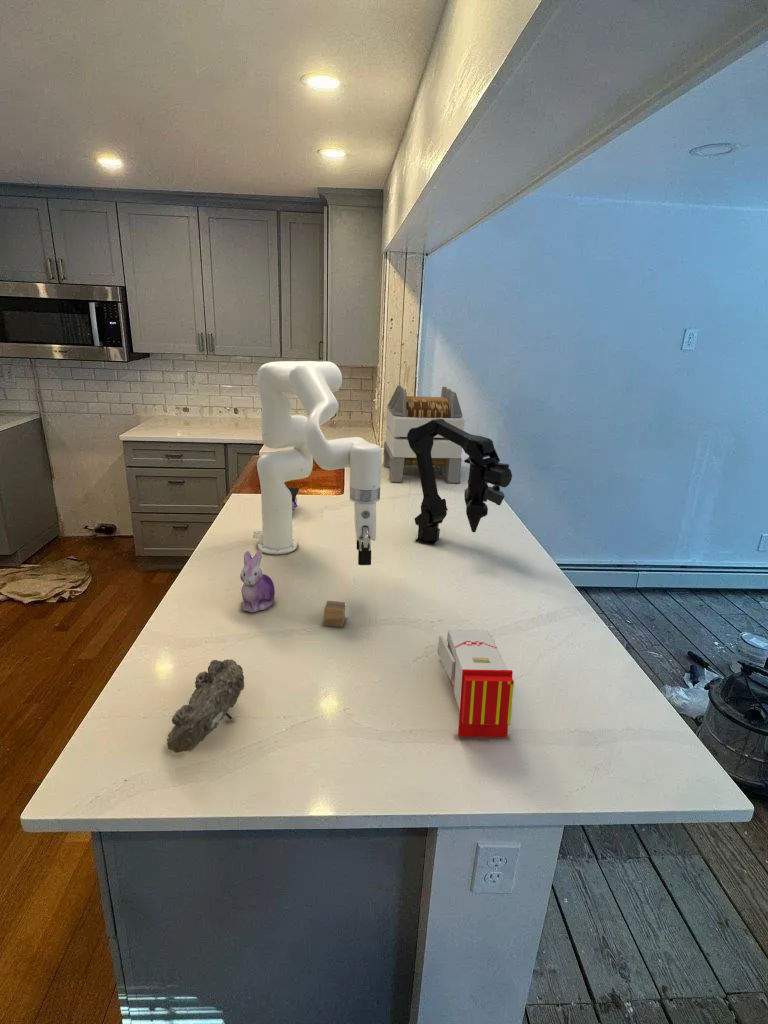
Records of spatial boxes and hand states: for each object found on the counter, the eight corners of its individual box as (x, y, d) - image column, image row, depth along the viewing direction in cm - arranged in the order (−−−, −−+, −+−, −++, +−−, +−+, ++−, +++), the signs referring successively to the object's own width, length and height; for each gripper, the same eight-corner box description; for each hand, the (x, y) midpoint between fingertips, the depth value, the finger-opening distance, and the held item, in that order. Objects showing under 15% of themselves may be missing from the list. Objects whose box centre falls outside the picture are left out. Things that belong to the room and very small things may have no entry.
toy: (488, 613, 130) (523, 677, 101) (484, 667, 133) (517, 744, 104) (435, 612, 130) (455, 676, 101) (432, 666, 133) (451, 743, 103)
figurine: (245, 617, 142) (242, 562, 137) (235, 598, 151) (232, 547, 146) (281, 609, 147) (280, 556, 142) (270, 592, 155) (268, 541, 150)
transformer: (382, 463, 289) (386, 382, 275) (445, 464, 293) (451, 384, 279) (390, 482, 257) (394, 392, 243) (460, 483, 261) (468, 394, 247)
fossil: (192, 660, 117) (244, 628, 112) (224, 691, 120) (276, 661, 115) (142, 746, 98) (202, 712, 93) (182, 779, 101) (242, 748, 96)
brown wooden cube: (342, 627, 140) (342, 610, 139) (324, 625, 141) (324, 608, 139) (345, 618, 144) (345, 602, 143) (327, 617, 145) (327, 600, 143)
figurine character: (295, 520, 211) (299, 503, 225) (294, 502, 208) (299, 485, 221) (277, 519, 211) (282, 502, 224) (276, 501, 208) (282, 485, 221)
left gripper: (382, 504, 133) (380, 571, 138) (377, 483, 149) (375, 544, 155) (350, 504, 132) (349, 571, 138) (348, 483, 148) (347, 544, 154)
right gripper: (507, 490, 164) (501, 539, 170) (501, 472, 182) (496, 518, 187) (469, 487, 165) (464, 537, 170) (466, 470, 183) (462, 515, 188)
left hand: (363, 556), depth 146 cm, fingers open, 9 cm apart
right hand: (472, 526), depth 179 cm, fingers open, 9 cm apart
